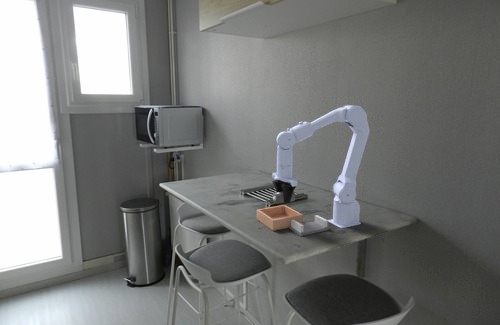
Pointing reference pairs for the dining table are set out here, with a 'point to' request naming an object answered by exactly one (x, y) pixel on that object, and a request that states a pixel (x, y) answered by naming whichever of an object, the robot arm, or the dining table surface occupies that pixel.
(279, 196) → the cell
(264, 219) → the bin
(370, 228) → the dining table surface
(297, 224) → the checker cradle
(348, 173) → the robot arm
